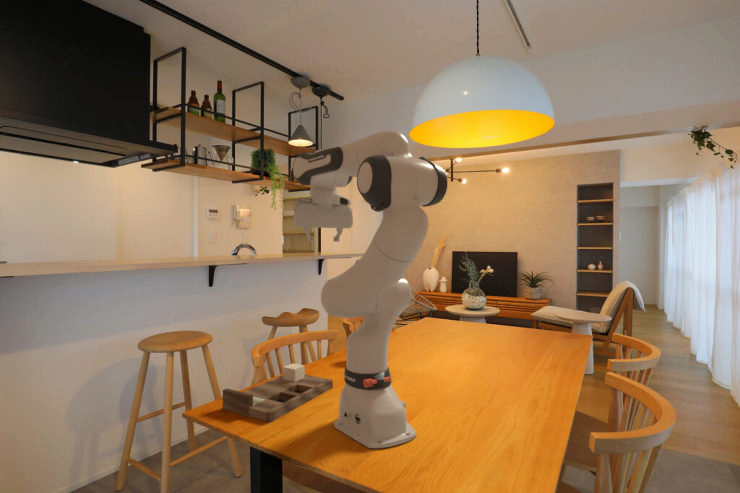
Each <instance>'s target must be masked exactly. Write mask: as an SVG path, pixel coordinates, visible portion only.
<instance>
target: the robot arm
mask: <svg viewBox="0 0 740 493" xmlns="http://www.w3.org/2000/svg"><path fill="white" fill-rule="evenodd" d="M292 174H293V177H294V179H295V181H297V182H298V183H299V185H301V186H310V195H309V198H297V199H295V200H294V201H293V208H292V209H293V216H292V217H293V218H292V225H293V226H294V227H295V228H303V232H304V234H305V236H306V241H307V242H313V241H314V235H311V233H310V232H309V231H310V230H311V228H318V229H319V228H322V229H323V228H324V229H325V228H327V229H335V230H336V232H337V233H336V235H334V236H333V242H335V243H337V242H340V237H341V235H342V233H343V232H344V231H343V230H344V229H351V228H352V227H353V225H354V223H353V222H354V219H353V217H354V216H353V210H352V208H351V207H350V206H351V203H352V202H351V199H349V198H347V197H344V196H342V195H340V194H338V188H343V187H346V186H348V185H349V184H350V183H351V182H352V180H353V178H356V187H357V189H358V192H359V194H360V196H361V197H362V198H363V200H364V201H365V202H366V203H367V204H369V206H370V208H371V210H373V211H374V212H377V213H380V212H382V221H381V222H380V225H378V228H377V230H376V232H375V233H374V235H373V237H372V240H371V242H370V243H369V245H368V247H367V249H366V251H365V252H364V254H363V255H362V256H361V257H360V259H358V260H357V261H355V263H354V264H353V265H352V266H351V267H349V268H348V269H347V270H345V271H343V273H340V274H339V275H336V276H335V277H333V278H329V279H328V280H326V282H325V283H324V285H323V286H322V289H321V291H320V301H321V306H322V308H323V309H324V311H325V312H326V314H328V316H331V317H335V318H343V319H353V318H361V317H363V321H362V323H361V324H360V326H358V328H357V329H355V330H353V332H351V333H350V334H349V335H348V337H347V340H346V350H345V351H346V353H345V354H346V363H345V364H346V366H344V372H343V377H344V383H345V384H344V387H343V388H342V390H341V391H340V394H339V404H338V416H337V419H336V420H335V421H334V422H333V428H335V429H337V430H338V431H340V432H342V433H343V434H345V435H346V436H348V437H350V438H351V439H353V440H355V441H356V442H358V443H360V444H361V445H363V446H365V448H369V449H383V448H390V447H394V446H398V445H401V444H404V443H405V444H406V443H407V442H410V441H412V440H414V439H415V438H416V436H417V431H416V430H415V429H414V428H413V426H412V425H411V424H410V423H409V422H408V420H407V412H406V408H407V404H406V403H405V401H404V400H401V399H400V398H399V396H398V395H397V392H396V391H395V390H394V387H393V386H392V382H393V379H392V378H393V376H392V375H391V372H390V368H389V367H388V364H389V363H388V362H389V360H388V358H389V356H388V355H389V344H390V343H389V342H390V338H391V333H392V330H393V328H394V325H395V324H396V322H397V320H398V318H399V317H400V316H401V314H402V313H403V312H404V311H405V310H406V309H408V308H409V305H410V304H411V302H412V301H411V300H412V295H413V294H412V288H411V286H410V284H409V282H408V281H407V279H406V278H404V277H405V275H406V274H407V272H408V269H410V267H411V265H412V264H413V262H414V261H415V258H416V257H417V255H418V254H419V253H420V250H421V248H422V246H423V244H424V241H425V238H426V236H427V233H428V230H429V226H430V220H429V216H428V214H427V213H426V212H425V211H424V209H423V208H421V207H424V208H425V207H431V206H434V205H438V204H439V203H441V202H442V201H443V199H444V198H445V195H446V194H447V191H448V184H449V183H448V177H447V174H446V171H445V170H444V168H443V167H441V165H439V164H437V163H435V162H434V161H431V160H430V159H429V160H428V159H427V158H426V157H424V156H420V157H419V158H418V157H417V158H416V157H414V156H413V155H412V154H411V146H410V143H409V141H408V139H407V138H406V136H405V135H403V134H402V133H401V132H399V131H396V130H384V131H383V130H382V131H379V132H375V133H371V134H369V135H367V136H365V137H362V138H360V139H357V140H355V141H351V142H348V143H345V144H342V145H338V146H334V147H332V148H322V149H321V148H320V149H318V150H315V151H314V152H310V151H302V152H300V153H299V154H298V155H297V156H296V157H295V158H294V161H293V164H292Z"/></svg>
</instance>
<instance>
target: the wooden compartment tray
mask: <svg viewBox="0 0 740 493" xmlns="http://www.w3.org/2000/svg"><path fill="white" fill-rule="evenodd" d="M333 381H334V380H333V379H330V378H326V377H325V378H324V377H319V376H314V375H310V374H305V378H302V379H300V380H298V381H296V382H293V381H289V380H284V379H283V374H282V375H280V376H277V377H274V378H273V379H270V380H268V381H265V382H263V383H260V384H258V385H256V386H254V387H251V388H249V389H247V390H244V391H239V390H235V389H230V388H224V389H222V410H224V411H227V412H231V413H233V414H238V415H242V416H245V417H249V418H253V419H255V420H259V421H262V422H263V421H264V422H266V423H272V422H274V421H275V420H277V419H279V418H281V417H283V416H285V415H286V414H288V413H290V412H292V411H293V410H296V409H297V408H298V407H301V406H302V405H304V404H305V403H307V402H310V401H312V400H313V399H315V398H317V397H319V396H321V395H322V394H324V393H325V392H327V391H330V390H331V389H333V387H334V386H333V384H334V382H333Z"/></svg>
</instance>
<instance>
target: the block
mask: <svg viewBox="0 0 740 493" xmlns="http://www.w3.org/2000/svg"><path fill="white" fill-rule="evenodd" d="M305 366H306V365H303V364H298V363H290V364H288V365H285V366H282V375H283V379H284V380H289V381H293V382H296V381H298V380H300V379H302V378H305V375H306V372H305V369H306V368H305Z"/></svg>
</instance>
